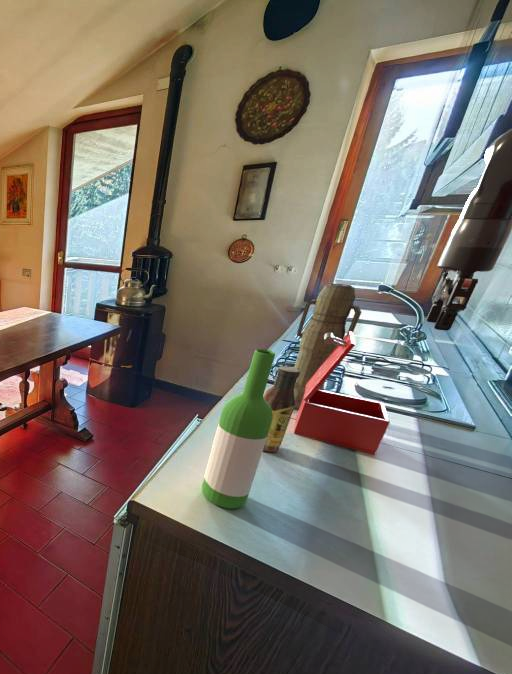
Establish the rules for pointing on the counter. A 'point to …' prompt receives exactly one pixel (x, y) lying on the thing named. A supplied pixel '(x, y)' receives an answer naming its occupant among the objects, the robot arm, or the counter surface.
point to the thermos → (322, 332)
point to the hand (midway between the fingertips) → (436, 325)
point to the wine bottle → (240, 438)
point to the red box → (343, 421)
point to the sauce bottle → (280, 405)
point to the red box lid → (329, 362)
